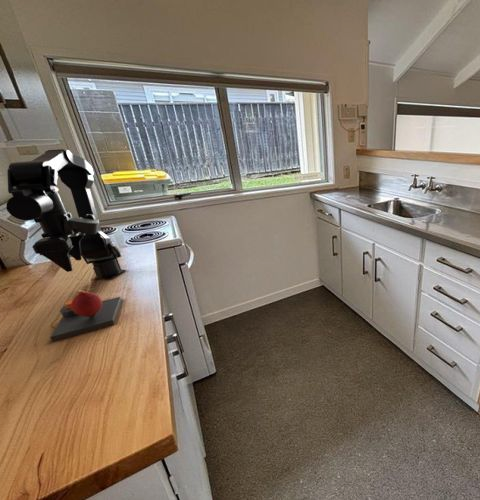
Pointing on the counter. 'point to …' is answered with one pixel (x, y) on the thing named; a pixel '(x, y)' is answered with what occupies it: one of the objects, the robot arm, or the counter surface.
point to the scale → (86, 320)
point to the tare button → (69, 304)
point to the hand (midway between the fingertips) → (74, 265)
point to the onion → (86, 304)
